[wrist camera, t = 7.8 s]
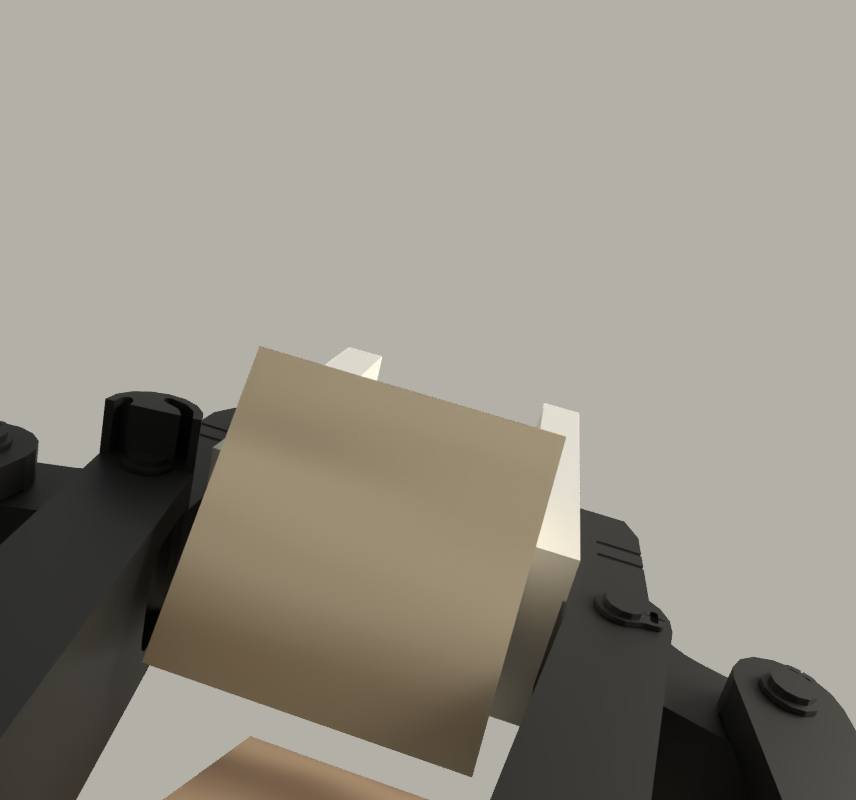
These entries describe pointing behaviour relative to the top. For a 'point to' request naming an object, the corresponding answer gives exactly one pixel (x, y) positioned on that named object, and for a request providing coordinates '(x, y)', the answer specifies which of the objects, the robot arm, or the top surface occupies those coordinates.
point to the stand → (280, 778)
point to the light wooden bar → (360, 558)
